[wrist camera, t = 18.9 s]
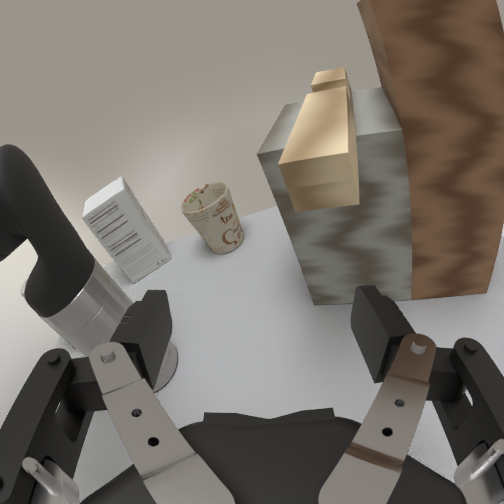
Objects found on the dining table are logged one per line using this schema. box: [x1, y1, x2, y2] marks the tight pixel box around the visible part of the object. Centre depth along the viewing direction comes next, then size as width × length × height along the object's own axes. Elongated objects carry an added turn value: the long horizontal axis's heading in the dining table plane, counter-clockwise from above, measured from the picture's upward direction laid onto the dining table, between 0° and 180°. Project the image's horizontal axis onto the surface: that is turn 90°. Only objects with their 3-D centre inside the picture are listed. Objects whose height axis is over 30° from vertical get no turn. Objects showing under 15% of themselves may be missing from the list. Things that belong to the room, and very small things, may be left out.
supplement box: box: [82, 176, 171, 283], centre depth 54 cm, size 10×9×17 cm
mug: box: [181, 182, 244, 254], centre depth 52 cm, size 8×13×10 cm, turn 41°
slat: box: [278, 67, 359, 212], centre depth 23 cm, size 4×24×3 cm, turn 164°
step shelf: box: [257, 0, 504, 305], centre depth 27 cm, size 22×14×31 cm, turn 74°
